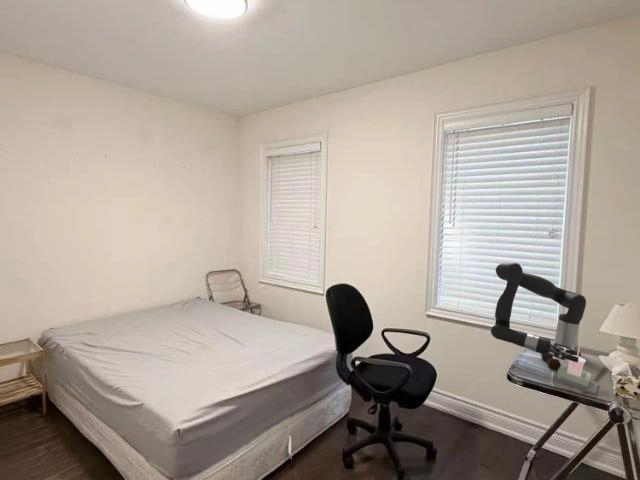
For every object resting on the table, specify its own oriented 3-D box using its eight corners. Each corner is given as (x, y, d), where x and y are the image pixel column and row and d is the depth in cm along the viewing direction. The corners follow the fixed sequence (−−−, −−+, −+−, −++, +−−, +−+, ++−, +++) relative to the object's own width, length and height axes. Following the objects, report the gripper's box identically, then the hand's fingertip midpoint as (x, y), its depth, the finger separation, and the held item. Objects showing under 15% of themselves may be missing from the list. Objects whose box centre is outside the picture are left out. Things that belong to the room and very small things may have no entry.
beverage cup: (585, 380, 150) (591, 350, 148) (574, 380, 148) (580, 350, 147) (572, 373, 156) (578, 344, 154) (561, 373, 154) (567, 344, 153)
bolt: (544, 360, 176) (555, 372, 162) (535, 354, 177) (545, 365, 163) (552, 352, 175) (564, 364, 161) (543, 346, 176) (554, 356, 162)
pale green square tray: (560, 371, 161) (562, 362, 161) (598, 384, 152) (600, 375, 151) (555, 380, 151) (557, 371, 150) (595, 395, 141) (597, 385, 141)
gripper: (535, 339, 156) (579, 353, 145) (541, 333, 166) (583, 345, 155) (532, 355, 157) (575, 370, 146) (538, 347, 167) (579, 361, 156)
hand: (579, 357), depth 151 cm, fingers open, 8 cm apart
